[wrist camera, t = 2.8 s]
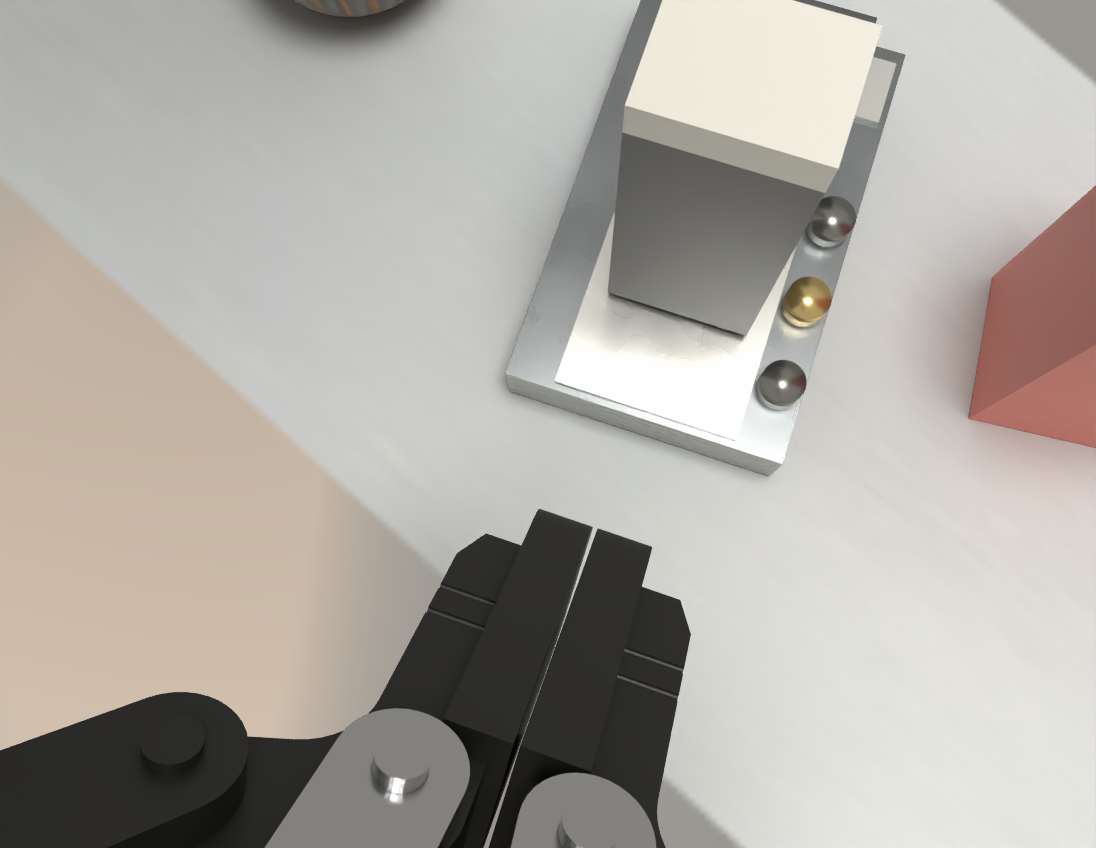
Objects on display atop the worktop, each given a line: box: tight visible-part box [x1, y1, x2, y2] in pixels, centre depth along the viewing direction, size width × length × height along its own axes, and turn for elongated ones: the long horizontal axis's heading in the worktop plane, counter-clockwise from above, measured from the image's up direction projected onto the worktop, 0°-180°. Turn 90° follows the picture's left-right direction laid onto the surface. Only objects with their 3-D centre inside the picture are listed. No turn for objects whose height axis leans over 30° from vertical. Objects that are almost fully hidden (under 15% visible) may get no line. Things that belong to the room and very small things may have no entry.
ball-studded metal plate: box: [505, 0, 905, 476], centre depth 29 cm, size 13×8×5 cm, turn 161°
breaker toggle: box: [608, 0, 882, 336], centre depth 23 cm, size 3×4×10 cm
